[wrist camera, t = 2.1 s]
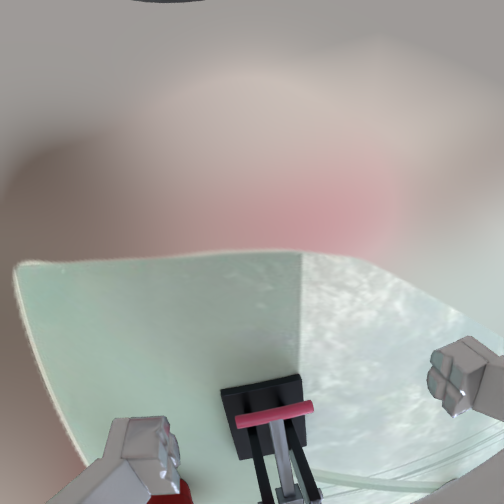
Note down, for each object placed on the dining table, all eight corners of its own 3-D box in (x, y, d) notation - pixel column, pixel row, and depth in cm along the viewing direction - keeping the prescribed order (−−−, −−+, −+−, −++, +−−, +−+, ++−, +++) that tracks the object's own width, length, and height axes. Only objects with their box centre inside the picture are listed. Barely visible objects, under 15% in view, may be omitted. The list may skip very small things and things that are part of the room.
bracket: (220, 389, 34) (233, 496, 19) (299, 373, 35) (345, 470, 20) (238, 454, 37) (255, 545, 23) (304, 440, 38) (339, 525, 23)
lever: (233, 409, 24) (235, 424, 21) (307, 393, 24) (315, 407, 22) (259, 508, 24) (263, 524, 22) (318, 494, 25) (325, 509, 22)
